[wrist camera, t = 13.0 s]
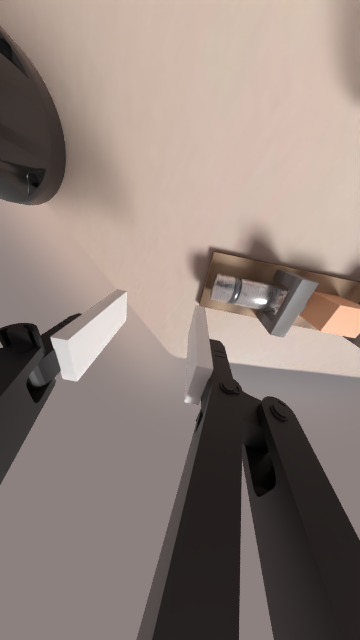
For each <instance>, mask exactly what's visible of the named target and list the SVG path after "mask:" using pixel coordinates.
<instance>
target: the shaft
mask: <svg viewBox="0 0 360 640" xmlns="http://www.w3.org/2000/svg"><path fill="white" fill-rule="evenodd" d="M289 290H290V288H287V287H282V286H277V285H272V284H267V283H262V282H258V281H253V280H248V279H243V278H240V277H235V276H229V275H224V274H219V273H216V275H215V277H214V279H213V282H212V286H211V290H210V300H215V301H220V302H225V303H228V304H235V305H240V306H244V307H249V308H254V309H259V310H264V311H269V312H274V313H277V311H278V309H279V308H280V306H281V304H282V302H283V301H284V299H285V297H286V295H287V293H288V292H289ZM307 302H308V301H307ZM306 305H307V303H306V304H305V306H304V307H303V309H302V310H301V312H300V313H299V314H301V313H302V312H303V311H304V309H305V308H306Z"/></svg>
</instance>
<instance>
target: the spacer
mask: <svg viewBox="0 0 360 640" xmlns="http://www.w3.org/2000/svg"><path fill="white" fill-rule="evenodd" d="M299 315H300V316H301V317H302V318H304V319H305V320H306V321H307V322H309V323H310V324H311V325H313V326H314V327H315V328H317V329H318V330H319V331H321V332H326V333H331V334H336V335H341V336H346V337H351V338H356V337H357V336H358V335H359V334H360V305H359V304H356V303H354V302H352V301H349V300H347V299H345V298H342V297H340V296H336V295H331V294H326V293H321V292H316V291H314V292H313V293H312V295H311V297H310V298H309V300H308V302H307V305H306V308H305V309H304V311H303V312H302V313H301V314H299Z"/></svg>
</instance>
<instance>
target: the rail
mask: <svg viewBox="0 0 360 640" xmlns="http://www.w3.org/2000/svg"><path fill="white" fill-rule="evenodd" d="M216 273H219V274H224V275H229V276H235V277H240V278H243V279H248V280H253V281H258V282H262V283H267V284H272V285H277V286H282V287H287V288H290V290H289V292H288V293H287V295H286V297H285V299H284V301H283V302H282V304H281V306H280V308H279V309H278V311H277V313H274V312H269V311H264V310H259V309H254V308H249V307H244V306H240V305H235V304H228V303H225V302H220V301H215V300H210V290H211V286H212V282H213V279H214V277H215V275H216ZM314 291H316V292H321V293H326V294H331V295H336V296H340V297H342V298H345V299H347V300H349V301H352V302H354V303H356V304H359V305H360V282H356V281H351V280H347V279H342V278H337V277H332V276H328V275H323V274H318V273H313V272H309V271H304V270H299V269H294V268H290V267H285V266H280V265H275V264H271V263H266V262H261V261H256V260H252V259H247V258H242V257H237V256H233V255H228V254H223V253H218V252H213V255H212V259H211V263H210V266H209V270H208V274H207V278H206V281H205V285H204V289H203V292H202V296H201V300H200V304H199V306H201V307H206V308H211V309H216V310H221V311H226V312H231V313H236V314H241V315H245V316H250V317H255V318H258V319H259V321H260V322H261V323H262V324H263V326H264V327H265V328H266V330H267V331H268V332H269V334H270V335H274V336H279V337H284V336H285V335H286V333H287V332H288V330H289V329H290V327H291V326H292V325H294V326H299V327H304V328H309V329H314V330H318V329H317V328H315V327H314V326H313V325H311V324H310V323H309V322H307V321H306V320H305V319H304V318H302V317H301V316H300V315H299V313H300V312H301V310H302V309H303V307H304V306H305V304H306V303H307V301H308V300H309V298H310V297H311V295H312V293H313V292H314ZM343 337H344V338H346V339H347V340H349V341H350V342H352V343H353V344H355V345H356V346H358V347H359V348H360V334H359V335H358V336H357V337H356V338H351V337H346V336H343Z"/></svg>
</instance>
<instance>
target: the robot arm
mask: <svg viewBox="0 0 360 640" xmlns="http://www.w3.org/2000/svg"><path fill="white" fill-rule="evenodd" d="M65 162H66V154H65V142H64V136H63V131H62V127H61V123H60V120H59V116H58V113H57V110H56V108H55V105H54V103H53V100H52V98H51V96H50V93H49V91H48V89H47V87H46V85H45V83H44V82H43V80H42V78H41V76H40V75H39V73H38V72H37V70H36V68H35V67H34V65H33V64H32V63H31V61H30V60H29V59H28V57H27V56H26V55H25V53H24V52H23V51H22V50H21V49H20V48H19V47H18V45H17V44H16V43H15V42H14V41H13V40H12V39H11V38H10V37H9V36H8V35H7V34H6V33H5V32H4V30H3V29H2V28H1V27H0V199H3V200H6V201H10V202H14V203H19V204H25V205H39V204H42V203H45V202H47V201H48V200H50V199H51V198H52V197H53V196H54V195H55V194H56V193H57V191H58V189H59V188H60V186H61V183H62V180H63V177H64V172H65ZM126 304H127V291H123V290H118V289H117V290H116V291H114V292H113V293H112V294H110V295H109V296H107V297H106V298H104V299H103V300H102V301H100V302H99V303H97V304H96V305H95V306H93V307H92V308H90V309H89V310H88V311H86V312H85V313H83V314H79V313H78V314H75V315H73V316H70V317H68V318H67V319H65V320H64V321H63V322H61V323H59V324H58V325H56V326H54V327H53V328H52V329H50V330H48V331H47V332H45V333H44V334H42V335H41V336H40V333H39V330H38V328H37V326H36V325H34V324H30V323H18V324H13V325H9V326H5V327H2V328H0V342H1V344H2V345H3V348H0V484H1V482H2V481H3V479H4V477H5V475H6V473H7V472H8V470H9V468H10V466H11V464H12V462H13V461H14V459H15V457H16V455H17V453H18V451H19V450H20V448H21V446H22V444H23V442H24V440H25V439H26V437H27V435H28V433H29V431H30V430H31V428H32V426H33V424H34V422H35V420H36V419H37V417H38V415H39V413H40V411H41V409H42V408H43V406H44V404H45V402H46V400H47V399H48V397H49V395H50V393H51V391H52V389H53V387H54V386H55V382H56V380H55V376H56V375H57V374H58V373H59V372H60V371H61V374H62V378H63V379H67V380H72V381H78V380H79V379H80V377H81V376H82V375H83V374H84V372H85V371H86V370H87V369H88V367H89V366H90V365H91V364H92V362H93V361H94V360H95V359H96V357H97V356H98V355H99V354H100V352H101V351H102V350H103V349H104V347H105V346H106V345H107V344H108V342H109V341H110V340H111V339H112V337H113V336H114V335H115V334H116V332H117V331H118V330H119V329H120V327H121V326H122V325H123V324H124V322H125V321H126ZM200 400H201V410H200V412H199V414H198V417H197V419H196V421H197V423H196V426H195V430H194V433H193V437H192V441H191V444H190V448H189V452H188V455H187V459H186V463H185V466H184V470H183V473H182V477H181V481H180V485H179V488H178V492H177V495H176V499H175V502H174V506H173V510H172V513H171V517H170V521H169V524H168V528H167V532H166V535H165V539H164V542H163V546H162V550H161V553H160V557H159V561H158V564H157V568H156V571H155V575H154V579H153V582H152V586H151V589H150V593H149V597H148V600H147V604H146V608H145V611H144V615H143V619H142V622H141V626H140V629H139V633H138V637H137V640H239V595H240V536H241V535H240V534H241V476H242V474H241V473H242V472H241V471H242V461H243V466H244V472H245V477H246V483H247V489H248V495H249V501H250V506H251V512H252V517H253V523H254V529H255V535H256V540H257V545H258V551H259V557H260V563H261V568H262V575H263V580H264V586H265V591H266V597H267V602H268V609H269V614H270V620H271V626H272V631H273V637H274V640H360V540H359V538H358V537H357V534H356V532H355V531H354V529H353V527H352V525H351V523H350V521H349V519H348V517H347V515H346V513H345V511H344V509H343V507H342V505H341V503H340V501H339V499H338V497H337V496H336V494H335V492H334V490H333V488H332V486H331V484H330V482H329V480H328V478H327V476H326V474H325V472H324V471H323V468H322V466H321V465H320V463H319V461H318V459H317V457H316V455H315V453H314V451H313V449H312V447H311V445H310V443H309V441H308V439H307V437H306V435H305V434H304V431H303V429H302V428H301V426H300V424H299V422H298V420H297V418H296V416H295V414H294V413H293V411H292V410H291V409H290V408H289V407H288V406H287V405H286V404H285V403H284V402H282V401H281V400H279V399H277V398H275V397H269V396H267V397H265V398H263V400H262V401H261V400H259V399H257V398H254V397H252V396H250V395H248V394H246V393H244V392H243V391H242V388H241V386H240V385H239V383H238V382H236V380H234V379H233V377H232V374H231V369H230V366H229V362H228V359H227V354H226V351H225V347H224V346H223V344H222V343H221V342H220V341H217V340H212V339H209V334H208V327H207V320H206V312H205V307H201V306H197V305H196V306H195V310H194V314H193V318H192V322H191V325H190V329H189V335H188V352H187V368H186V385H185V402H187V403H192V404H197V405H199V403H200Z"/></svg>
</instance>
